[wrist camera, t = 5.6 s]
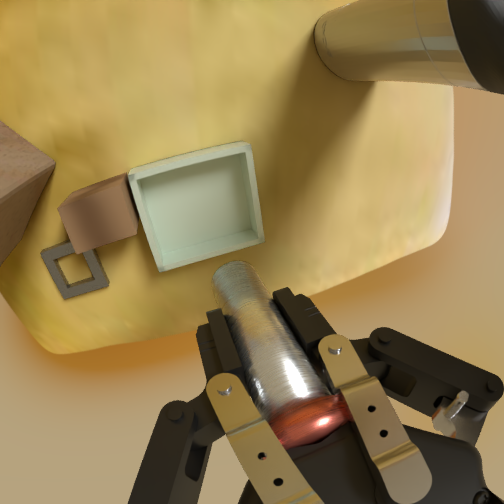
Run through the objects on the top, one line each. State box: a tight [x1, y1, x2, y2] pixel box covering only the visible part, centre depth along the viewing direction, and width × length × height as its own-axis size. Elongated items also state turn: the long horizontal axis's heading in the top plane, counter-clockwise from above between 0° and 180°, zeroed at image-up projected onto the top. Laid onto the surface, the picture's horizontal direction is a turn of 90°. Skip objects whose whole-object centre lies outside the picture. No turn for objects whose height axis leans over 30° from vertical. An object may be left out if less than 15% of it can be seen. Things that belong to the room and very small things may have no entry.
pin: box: [211, 261, 350, 460], centre depth 11 cm, size 3×3×10 cm
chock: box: [57, 173, 139, 254], centre depth 23 cm, size 6×4×5 cm
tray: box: [128, 141, 265, 273], centre depth 27 cm, size 11×10×3 cm
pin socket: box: [40, 240, 109, 299], centre depth 26 cm, size 6×6×1 cm
